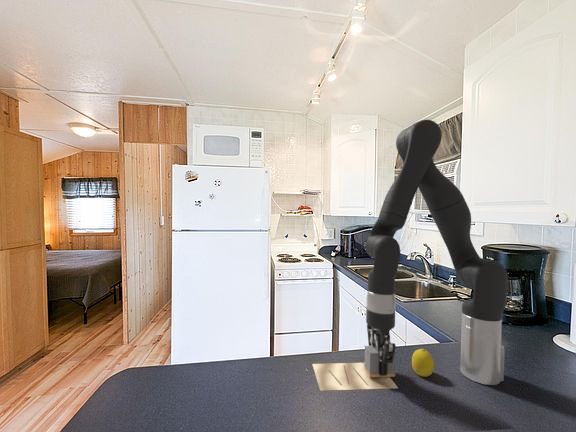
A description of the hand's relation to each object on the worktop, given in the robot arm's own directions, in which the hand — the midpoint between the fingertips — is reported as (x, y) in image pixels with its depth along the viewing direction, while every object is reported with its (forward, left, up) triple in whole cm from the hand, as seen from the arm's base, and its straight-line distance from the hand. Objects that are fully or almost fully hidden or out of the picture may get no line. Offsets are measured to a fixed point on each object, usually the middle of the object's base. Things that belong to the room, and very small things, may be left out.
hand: (379, 369), depth 75 cm
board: (+8, 0, -3) cm, 8 cm away
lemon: (-12, 0, -3) cm, 13 cm away
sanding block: (0, 0, -1) cm, 1 cm away
